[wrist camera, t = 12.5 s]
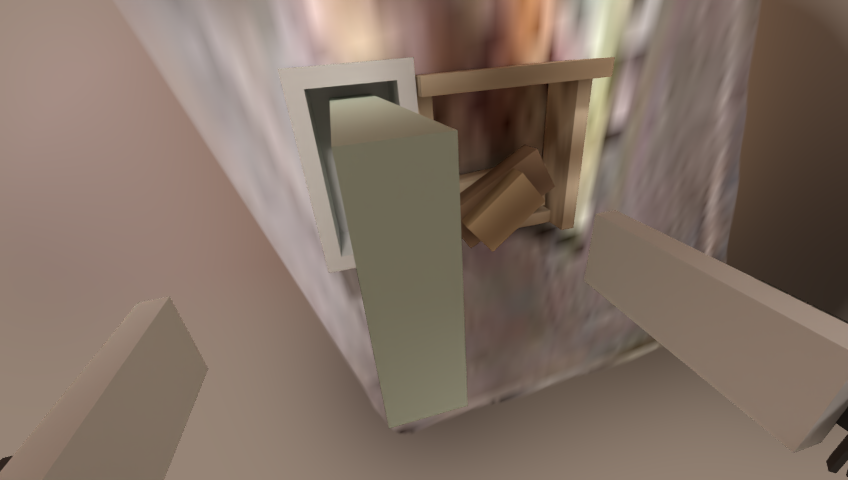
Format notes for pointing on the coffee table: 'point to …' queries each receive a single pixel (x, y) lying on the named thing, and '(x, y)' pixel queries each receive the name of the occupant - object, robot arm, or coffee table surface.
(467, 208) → the offcut walnut
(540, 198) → the offcut oak
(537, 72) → the rack
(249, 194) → the coffee table surface
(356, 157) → the grey-green flat block
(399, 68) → the bin
